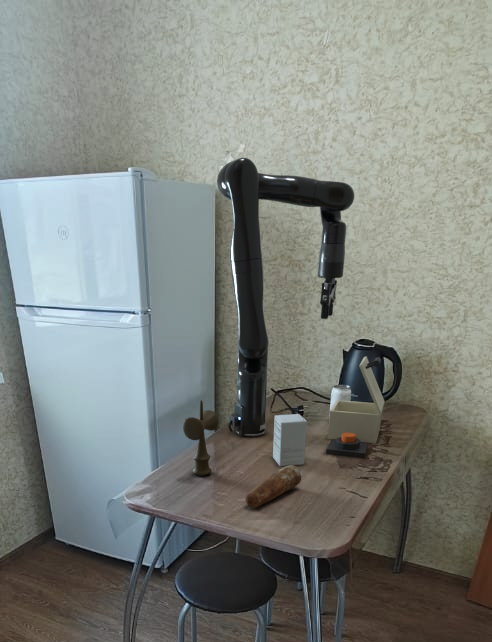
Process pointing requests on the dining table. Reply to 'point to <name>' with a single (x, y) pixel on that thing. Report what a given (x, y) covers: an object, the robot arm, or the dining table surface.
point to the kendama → (201, 437)
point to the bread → (274, 486)
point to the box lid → (372, 381)
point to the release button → (348, 437)
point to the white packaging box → (289, 439)
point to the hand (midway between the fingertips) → (326, 317)
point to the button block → (347, 448)
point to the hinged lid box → (354, 420)
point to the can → (340, 394)
